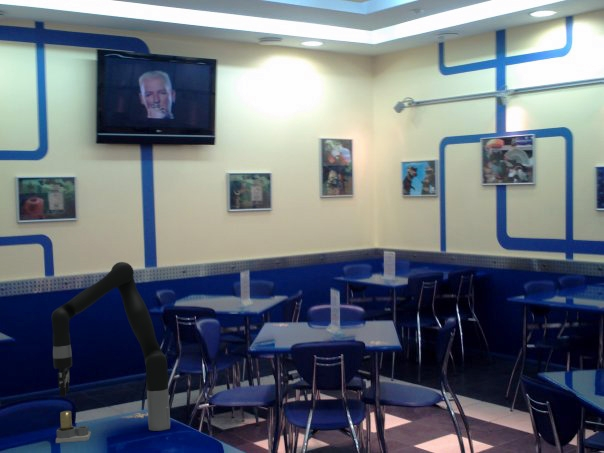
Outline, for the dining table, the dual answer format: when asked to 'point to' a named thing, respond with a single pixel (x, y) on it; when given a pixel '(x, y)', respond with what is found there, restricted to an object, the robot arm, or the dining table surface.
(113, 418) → the dining table surface
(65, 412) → the brass cylinder
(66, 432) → the grey mounting plate
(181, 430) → the dining table surface
